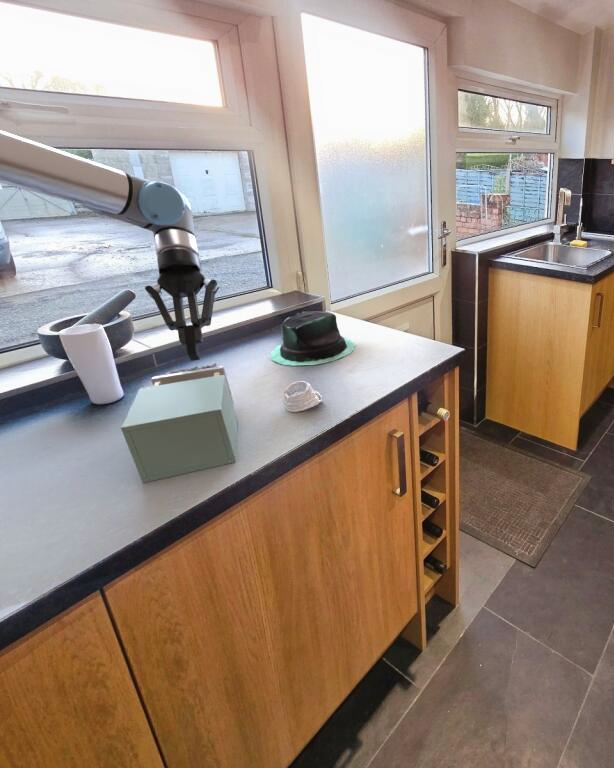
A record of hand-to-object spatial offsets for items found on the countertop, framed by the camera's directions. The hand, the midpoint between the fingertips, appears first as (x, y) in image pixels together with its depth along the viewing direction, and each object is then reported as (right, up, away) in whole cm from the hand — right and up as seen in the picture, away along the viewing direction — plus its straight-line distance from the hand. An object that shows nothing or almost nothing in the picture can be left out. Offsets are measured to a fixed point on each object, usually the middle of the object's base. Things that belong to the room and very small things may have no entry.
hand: (193, 357), depth 98 cm
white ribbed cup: (+22, -10, -1) cm, 24 cm away
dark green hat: (+13, +3, +26) cm, 30 cm away
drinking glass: (-19, -9, +2) cm, 21 cm away
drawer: (+6, -12, -7) cm, 15 cm away
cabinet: (+10, -16, -15) cm, 24 cm away
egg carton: (-5, -6, +7) cm, 11 cm away
